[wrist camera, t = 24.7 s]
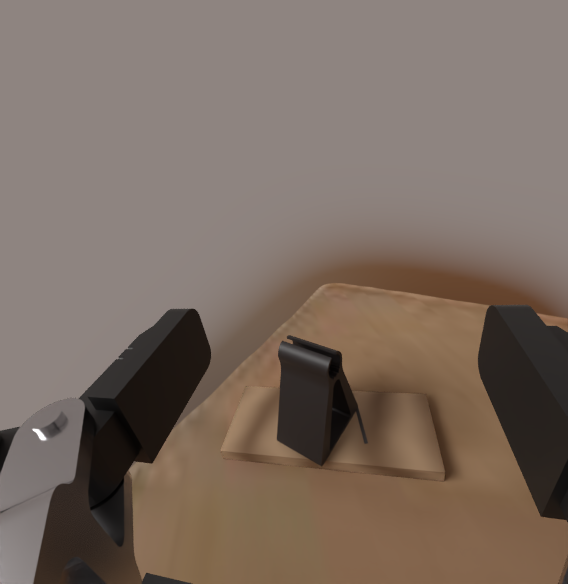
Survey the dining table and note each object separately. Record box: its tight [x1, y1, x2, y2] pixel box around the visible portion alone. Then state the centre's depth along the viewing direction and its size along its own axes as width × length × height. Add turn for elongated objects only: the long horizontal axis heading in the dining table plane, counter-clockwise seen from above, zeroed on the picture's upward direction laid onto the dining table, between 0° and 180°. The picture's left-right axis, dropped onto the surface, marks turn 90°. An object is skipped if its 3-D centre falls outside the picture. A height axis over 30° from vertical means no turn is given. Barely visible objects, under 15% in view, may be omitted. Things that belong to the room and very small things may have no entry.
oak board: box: [221, 386, 445, 481], centre depth 38 cm, size 24×10×2 cm, turn 79°
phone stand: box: [277, 335, 358, 467], centre depth 35 cm, size 9×6×12 cm, turn 143°
